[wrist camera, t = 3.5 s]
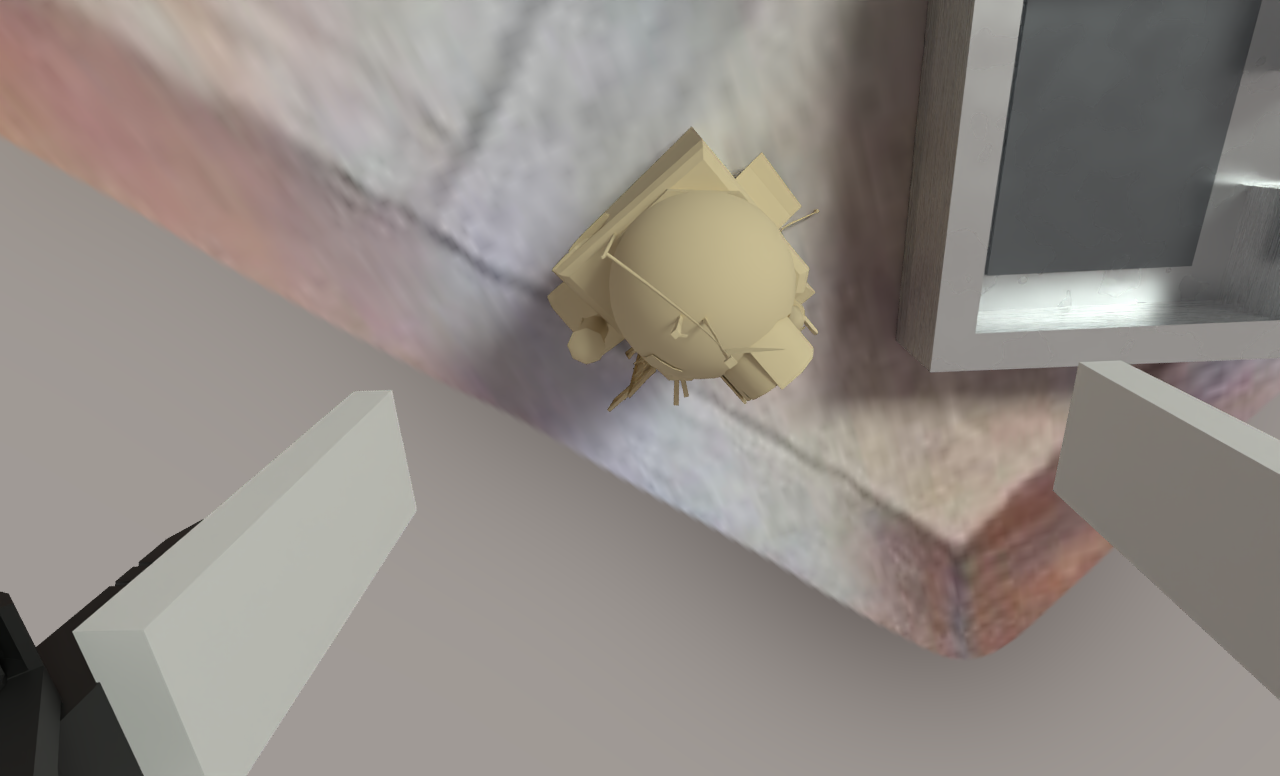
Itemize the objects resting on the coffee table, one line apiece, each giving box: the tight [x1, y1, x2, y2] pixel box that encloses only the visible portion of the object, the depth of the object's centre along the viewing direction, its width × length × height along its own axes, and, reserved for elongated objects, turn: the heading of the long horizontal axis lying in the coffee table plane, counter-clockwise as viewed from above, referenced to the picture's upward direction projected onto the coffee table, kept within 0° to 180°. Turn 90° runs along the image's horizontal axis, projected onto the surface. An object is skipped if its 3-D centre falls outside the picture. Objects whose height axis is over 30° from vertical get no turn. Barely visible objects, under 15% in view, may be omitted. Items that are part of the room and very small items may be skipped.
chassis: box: [896, 0, 1280, 372], centre depth 24 cm, size 14×16×4 cm
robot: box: [547, 127, 819, 412], centre depth 21 cm, size 10×8×15 cm
